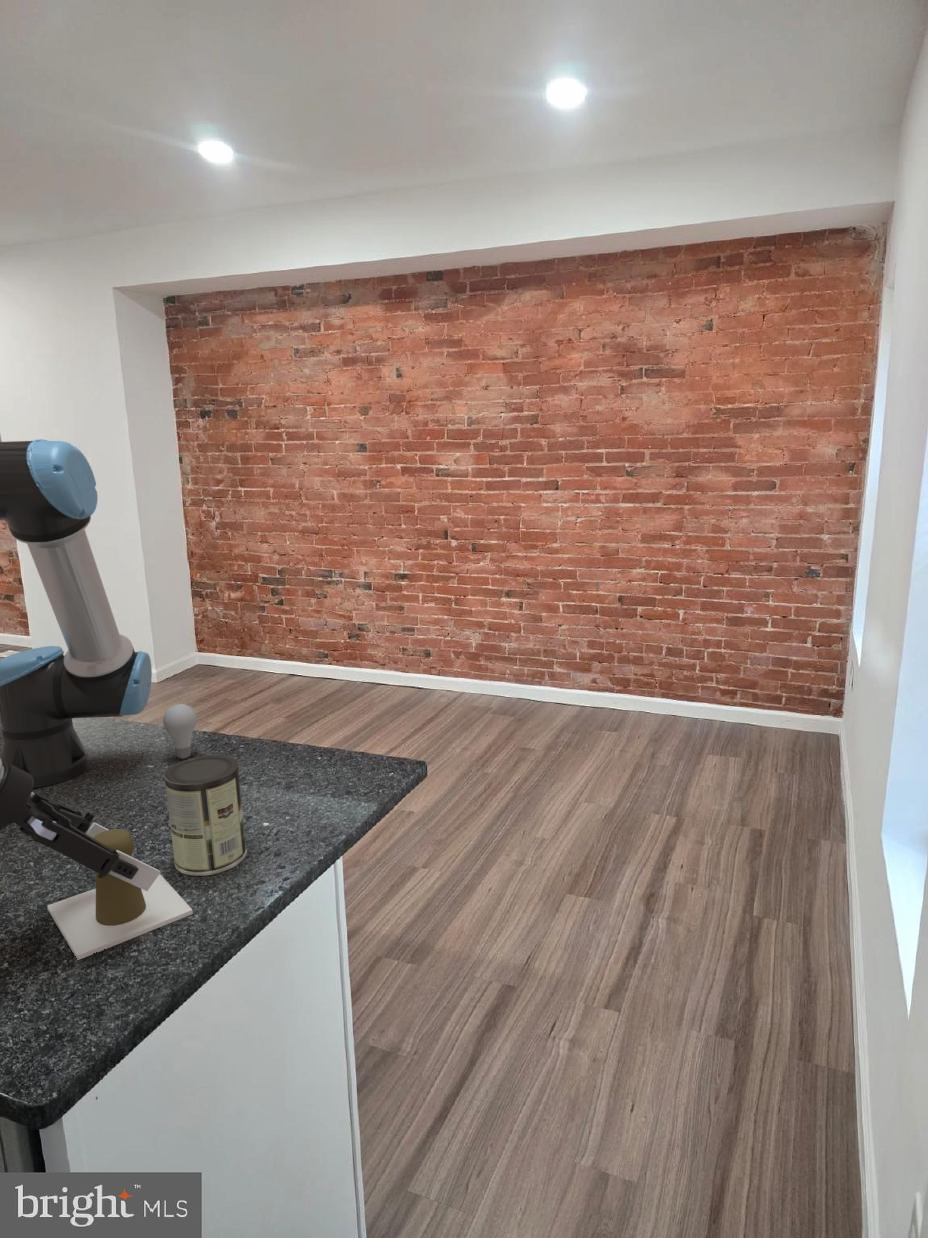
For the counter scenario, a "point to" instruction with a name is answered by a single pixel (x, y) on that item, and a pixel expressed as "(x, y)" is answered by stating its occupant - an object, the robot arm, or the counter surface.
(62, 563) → the robot arm
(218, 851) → the coffee can
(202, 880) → the counter surface
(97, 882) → the cork
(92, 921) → the white pad
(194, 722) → the lightbulb
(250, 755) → the counter surface
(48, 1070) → the counter surface
